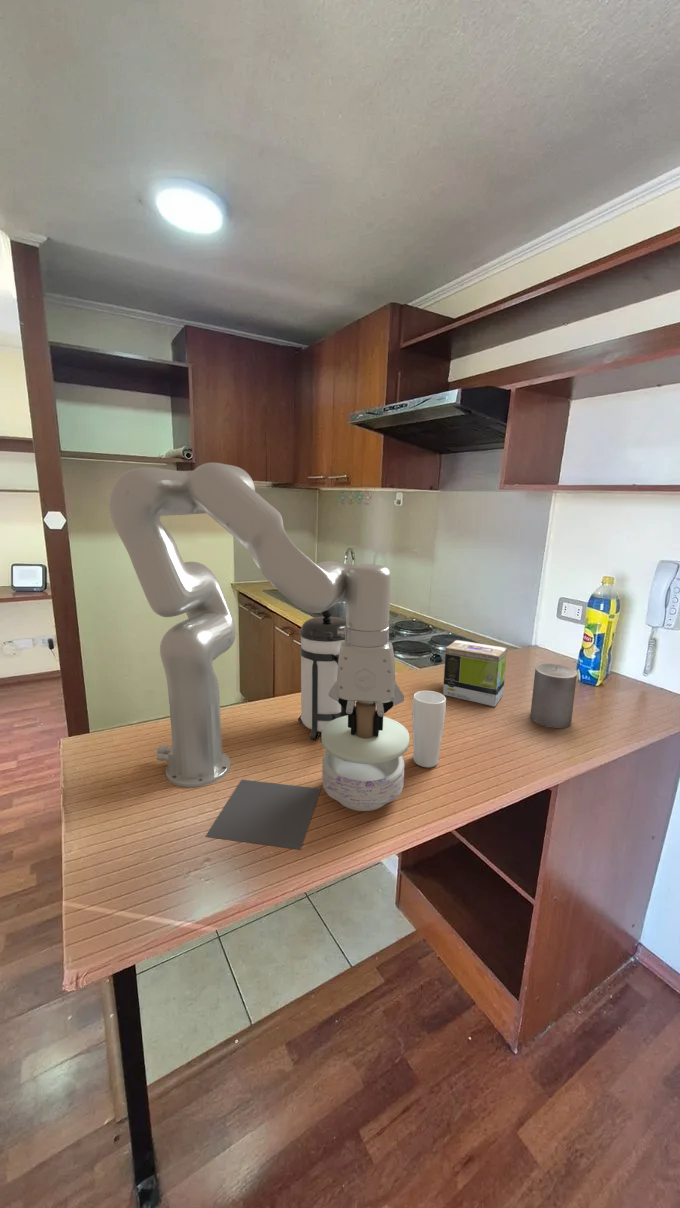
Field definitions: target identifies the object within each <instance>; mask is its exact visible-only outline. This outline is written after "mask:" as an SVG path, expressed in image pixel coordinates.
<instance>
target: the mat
mask: <svg viewBox="0 0 680 1208" xmlns="http://www.w3.org/2000/svg"><path fill="white" fill-rule="evenodd" d="M321 790H322V788H317V787H310V786H301V785H291V784H284V783H283V784H282V783H275V782H267V781H257V780H250V779H249V780H247V779H241V780H240V782H239V783H238V784H237V786H236V788H235V789H234V791H233V792H232V794H231V796H229V799H228V800H227V802H226V803H225V805H224V806H223V807H222V809H221V811H220V813H219V814H218V815H217V817H216V819H215V820H214V822H213V824H212V825H211V827H210V828H209V830H208V831H207V833H206V835H205V838H212V839H219V840H227V841H234V842H241V843H247V844H255V845H261V846H263V845H264V846H269V847H276V848H277V847H278V848H283V849H291V850H297V851H298V850H299V851H301V849H302V846H303V844H304V840H305V837H306V835H307V831H308V829H309V826H310V823H311V819H312V816H313V814H314V811H315V808H316V805H317V802H318V799H319V796H320V794H321V792H322V791H321Z"/></svg>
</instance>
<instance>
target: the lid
mask: <svg viewBox="0 0 680 1208" xmlns="http://www.w3.org/2000/svg"><path fill="white" fill-rule="evenodd" d="M355 706H356V732H355V734H354V735H351V728H348V715H347V716H343V717H339V718H336V719H334V720H332V721H330V722H329V723H328V724H326V725H325V727H324V728H323V730H322V732H321V745H322V747H323V748H324V749H325V752H326V751H327V752H329V753H330V754H331V755H333V756H335V757H337V758H339V759H341V760H345V761H348V762H353V763H359V764H376V763H383V762H388V761H391V760H394V759H396V758H398V757H400V756H401V755H402V756H403V755H404V754H405V753H406V752H407V751H408V749H409V746H410V733H409V731H408V729H407V728H406V727H405V726H404V725H403V724H402V723H400V722H398V721H396V720H395V719H392V718H391V717H387V716H383V730H382V731H381V730H379V734H378V737H375V736H374V719H375V714H376V710H377V706H376V702H364V701H355Z"/></svg>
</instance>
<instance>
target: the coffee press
mask: <svg viewBox="0 0 680 1208" xmlns="http://www.w3.org/2000/svg"><path fill="white" fill-rule="evenodd" d="M332 613H333V612H332V611H331V608H329V609H328V610H326V611H324V612H321V615H322V616H316V617H311V618H309V619H307V620H306V621H304V622H303V623H302V626H301V628H299V630H298V633H299V636H300V645H299V654H300V663H301V664H300V677H301V678H300V691H301V695H300V696H301V697H300V698H301V699H300V700H301V701H300V702H301V705H300V706H301V709H300V711H301V714H300V716H299V717H298V718H297V721H298V723H299V724H303V725H304V726H305V728H308V729H310V730H311V732H310V734H309V740H310V741H315V742H317V740H318V738H319V735H320V733H322V730H323V728H324V727H325V725H326V724H328V723H329V722H330V721H332V720H334V719H336V718H339V717H343V716H347V715H348V714H347V713H346V710H345V709H344V708H343V707H342V706H341V705H340V704H339V702H338V701H336V700H334V699H333V698H331V697H330V696H329V695H328V694H329V692H330V690H331V688H332V687H333V685H334V684H335V682H336V681H337V670H338V659H339V652H340V647H341V643H342V642H343V641H344V640H345V638H344V636H340V635H338V634H337V631H338V628H342V627H345V626H346V619H343V618H342V617H336V616H332Z"/></svg>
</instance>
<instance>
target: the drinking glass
mask: <svg viewBox="0 0 680 1208" xmlns="http://www.w3.org/2000/svg"><path fill="white" fill-rule="evenodd" d="M412 698H413V699H412V710H411V711H412V718H411V719H412V738H413V739H412V740H413V742H412V744H413V745H412V746H413V753H412V755H413V757H412V759H413V762H414V763H415V764H416V765H417V766H419V767H422V768H433V767H435V766H437V765H438V763H439V759H440V750H441V744H442V738H443V732H444V725H445V720H446V709H447V707H446V705H447V704H446V703H447V697H446V695H443V693H440V692H437V691H433V690H419V691H417V692H415V693H414V694H413V697H412Z"/></svg>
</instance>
